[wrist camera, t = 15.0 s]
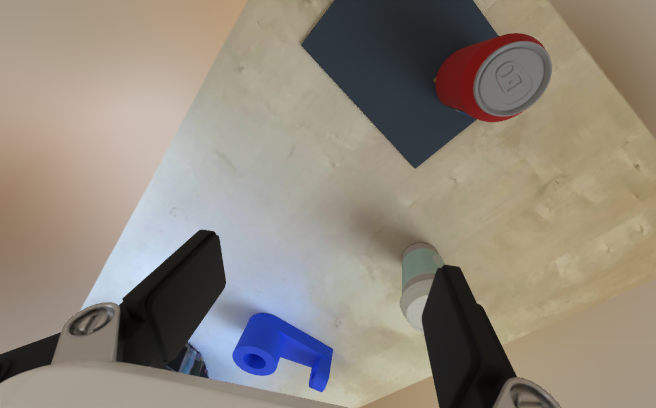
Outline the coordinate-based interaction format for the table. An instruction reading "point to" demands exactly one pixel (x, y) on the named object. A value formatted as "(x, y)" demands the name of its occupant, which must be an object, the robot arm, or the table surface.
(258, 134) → the table surface
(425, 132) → the mat
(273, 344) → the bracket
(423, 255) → the coffee cup
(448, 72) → the beverage can
